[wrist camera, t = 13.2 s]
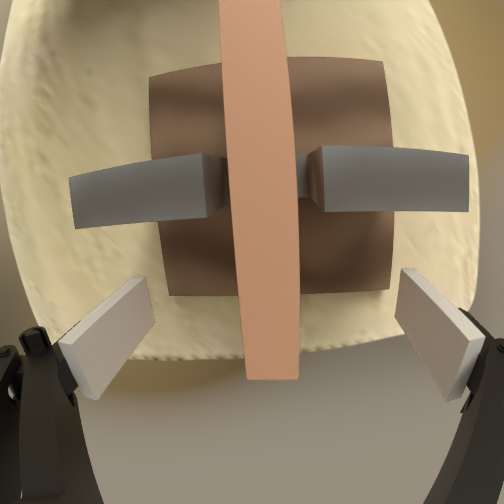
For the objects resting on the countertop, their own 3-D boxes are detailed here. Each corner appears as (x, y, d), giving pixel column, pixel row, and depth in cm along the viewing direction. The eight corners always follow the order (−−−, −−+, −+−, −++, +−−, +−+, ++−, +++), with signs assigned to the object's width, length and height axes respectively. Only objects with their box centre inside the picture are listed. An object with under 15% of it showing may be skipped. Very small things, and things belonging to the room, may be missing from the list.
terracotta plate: (249, 71, 20) (218, -9, 8) (280, 69, 19) (277, -15, 8) (263, 286, 25) (246, 379, 13) (292, 285, 24) (298, 379, 13)
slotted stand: (155, 81, 22) (62, 30, 9) (377, 66, 19) (448, -4, 7) (174, 289, 27) (103, 375, 14) (384, 282, 25) (450, 371, 12)
